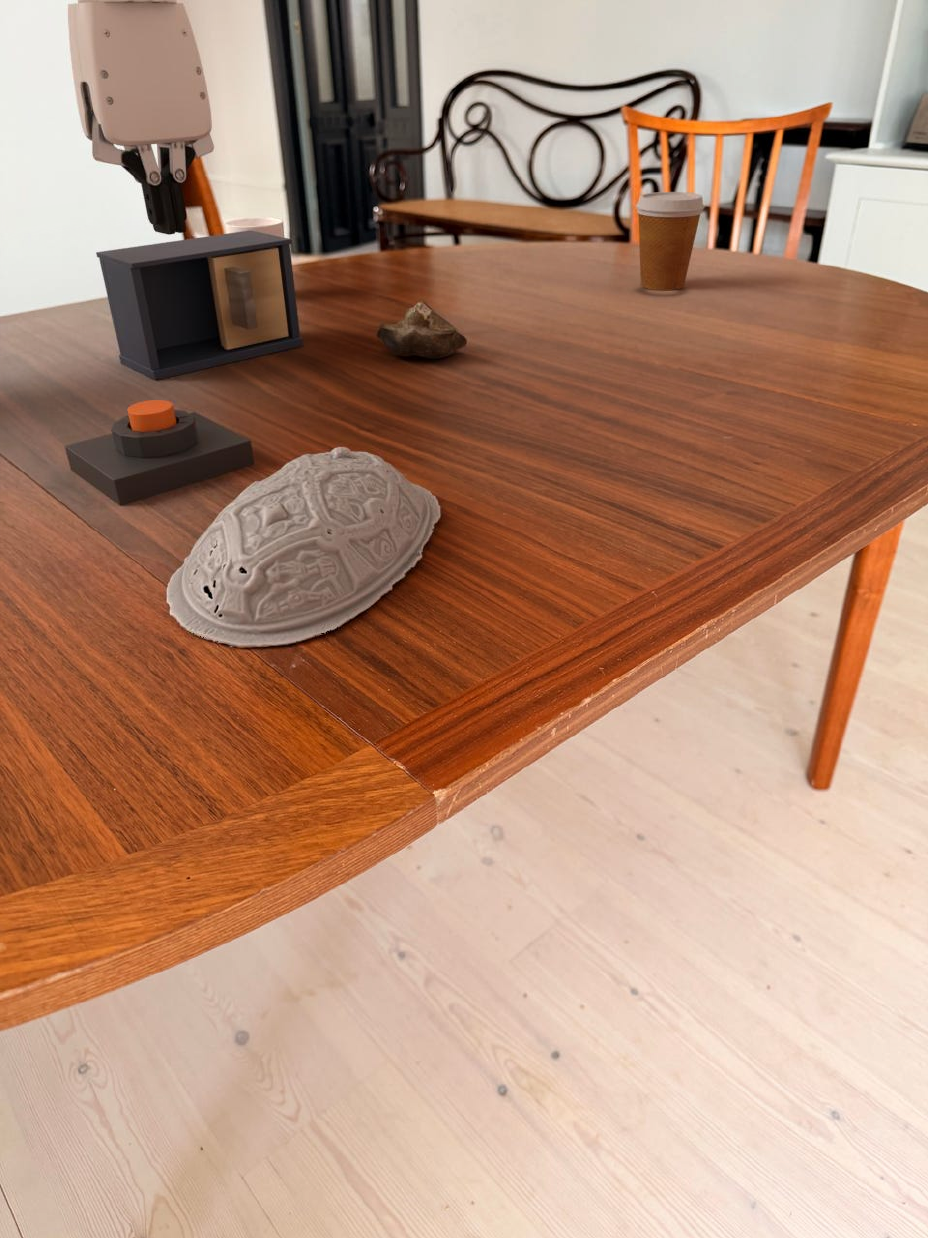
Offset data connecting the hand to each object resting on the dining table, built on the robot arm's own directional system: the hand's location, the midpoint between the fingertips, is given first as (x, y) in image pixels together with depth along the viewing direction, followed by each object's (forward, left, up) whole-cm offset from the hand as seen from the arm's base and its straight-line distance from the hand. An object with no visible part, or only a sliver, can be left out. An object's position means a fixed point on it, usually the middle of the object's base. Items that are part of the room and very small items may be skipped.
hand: (170, 231), depth 81 cm
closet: (+10, +16, -16) cm, 25 cm away
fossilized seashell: (+27, -2, -17) cm, 32 cm away
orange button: (-10, -12, -13) cm, 20 cm away
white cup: (+30, +38, -17) cm, 52 cm away
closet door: (+14, +11, -15) cm, 23 cm away
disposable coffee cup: (+75, +1, -17) cm, 77 cm away
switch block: (-10, -12, -16) cm, 22 cm away
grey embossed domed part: (-9, -34, -17) cm, 39 cm away
